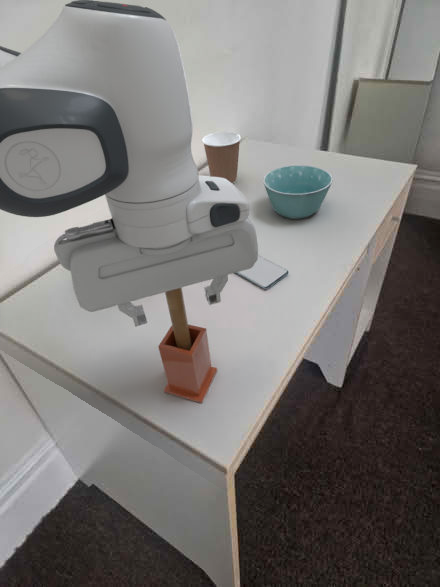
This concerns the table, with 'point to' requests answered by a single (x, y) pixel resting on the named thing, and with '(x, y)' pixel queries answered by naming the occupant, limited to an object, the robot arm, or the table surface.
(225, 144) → the coffee cup
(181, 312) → the stirring stick
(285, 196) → the bowl
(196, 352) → the utensil holder
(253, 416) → the table surface
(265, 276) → the smartphone
